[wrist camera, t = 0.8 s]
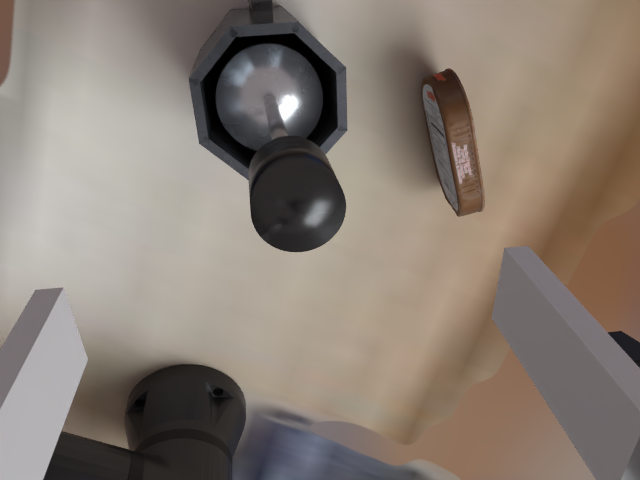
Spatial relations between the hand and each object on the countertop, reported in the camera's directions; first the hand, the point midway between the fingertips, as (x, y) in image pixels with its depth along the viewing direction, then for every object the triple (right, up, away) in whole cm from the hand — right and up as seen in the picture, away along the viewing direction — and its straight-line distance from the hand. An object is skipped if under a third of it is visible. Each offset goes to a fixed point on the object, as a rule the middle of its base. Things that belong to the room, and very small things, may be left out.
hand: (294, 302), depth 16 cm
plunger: (-3, +13, +24) cm, 27 cm away
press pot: (-5, +19, +33) cm, 39 cm away
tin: (+13, +13, +40) cm, 44 cm away
